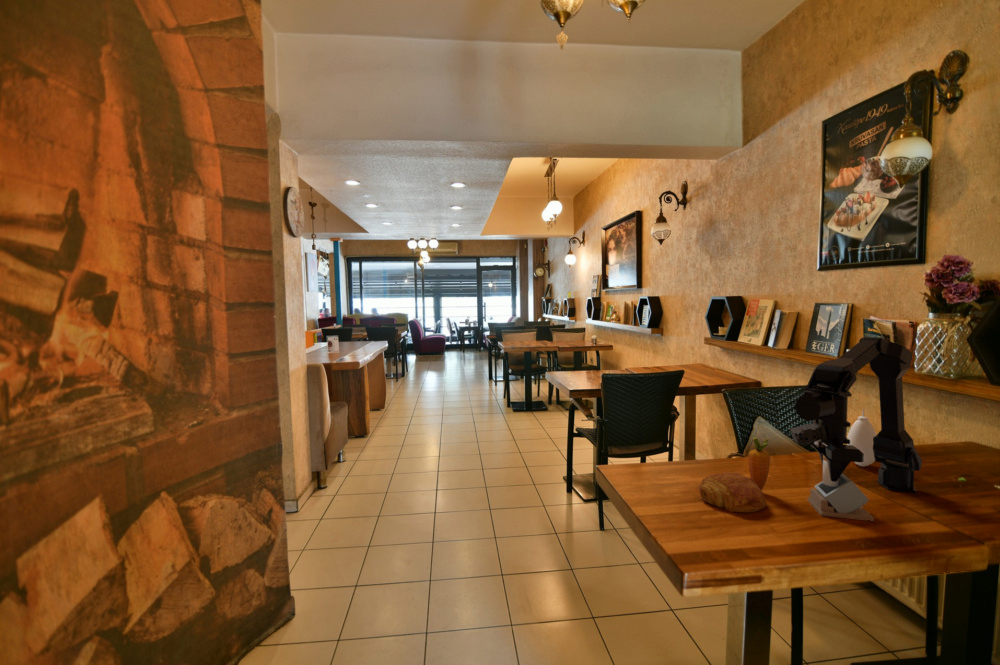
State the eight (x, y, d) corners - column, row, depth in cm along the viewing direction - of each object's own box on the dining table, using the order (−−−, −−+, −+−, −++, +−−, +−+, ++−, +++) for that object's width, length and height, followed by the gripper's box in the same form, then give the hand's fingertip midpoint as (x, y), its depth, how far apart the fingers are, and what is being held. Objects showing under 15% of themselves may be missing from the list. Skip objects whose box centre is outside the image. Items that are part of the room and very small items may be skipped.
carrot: (768, 490, 124) (769, 435, 123) (770, 497, 120) (771, 440, 119) (747, 487, 126) (748, 433, 126) (748, 494, 122) (749, 438, 121)
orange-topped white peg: (835, 482, 113) (836, 454, 113) (841, 487, 110) (842, 458, 109) (820, 480, 114) (820, 453, 114) (825, 485, 111) (826, 457, 110)
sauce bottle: (881, 471, 138) (883, 412, 137) (849, 467, 141) (851, 410, 140) (873, 463, 145) (875, 407, 144) (843, 460, 148) (844, 405, 147)
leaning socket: (856, 505, 114) (857, 471, 114) (873, 521, 106) (875, 484, 105) (807, 500, 117) (808, 467, 117) (820, 515, 109) (821, 479, 108)
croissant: (691, 500, 123) (687, 471, 123) (746, 490, 125) (742, 461, 124) (722, 523, 109) (717, 491, 109) (783, 512, 110) (778, 479, 110)
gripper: (783, 406, 122) (782, 463, 123) (807, 422, 104) (806, 489, 105) (831, 408, 119) (830, 467, 120) (865, 426, 101) (863, 495, 102)
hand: (830, 478), depth 112 cm, fingers closed on orange-topped white peg, 3 cm apart
